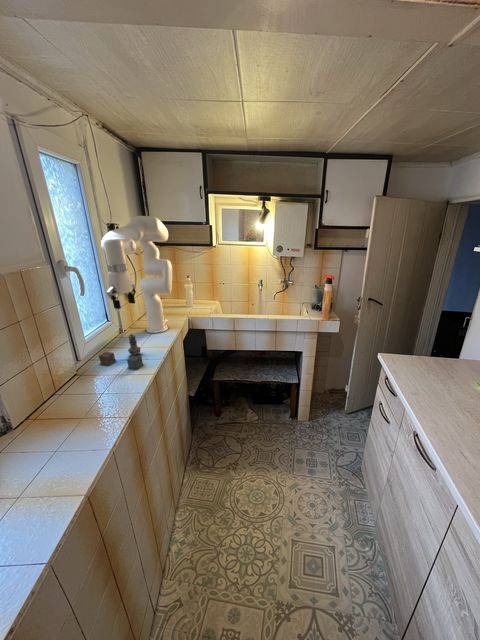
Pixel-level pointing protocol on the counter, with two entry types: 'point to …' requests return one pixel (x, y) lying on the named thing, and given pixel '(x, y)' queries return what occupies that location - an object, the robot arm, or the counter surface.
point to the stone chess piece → (133, 346)
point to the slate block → (135, 362)
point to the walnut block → (107, 358)
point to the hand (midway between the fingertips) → (125, 305)
